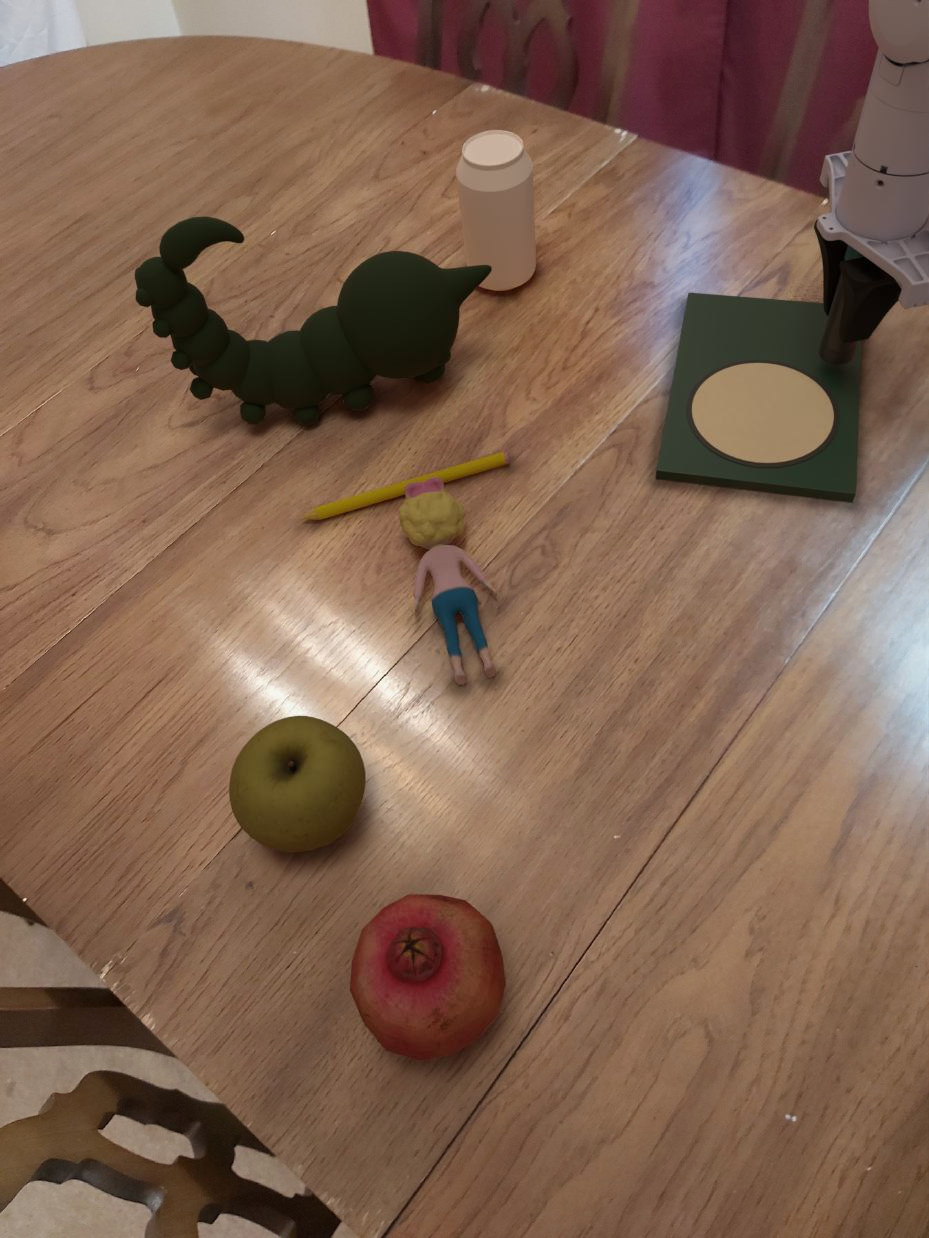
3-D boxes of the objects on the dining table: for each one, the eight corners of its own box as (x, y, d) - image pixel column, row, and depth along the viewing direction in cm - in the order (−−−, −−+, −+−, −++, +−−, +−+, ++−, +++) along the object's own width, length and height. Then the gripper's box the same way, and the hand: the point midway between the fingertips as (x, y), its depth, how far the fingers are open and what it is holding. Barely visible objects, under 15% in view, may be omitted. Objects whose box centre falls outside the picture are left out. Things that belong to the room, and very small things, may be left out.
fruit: (350, 1056, 50) (307, 1025, 42) (382, 906, 54) (348, 851, 46) (498, 1082, 49) (483, 1056, 40) (519, 927, 53) (510, 874, 45)
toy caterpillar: (227, 476, 76) (521, 388, 75) (110, 289, 60) (481, 174, 59) (219, 397, 81) (494, 314, 80) (109, 205, 65) (451, 98, 64)
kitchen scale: (687, 301, 79) (688, 291, 78) (859, 316, 77) (863, 304, 76) (655, 479, 69) (656, 469, 68) (852, 503, 67) (856, 492, 66)
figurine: (520, 676, 63) (466, 502, 70) (518, 646, 59) (461, 465, 66) (434, 698, 62) (389, 521, 70) (426, 669, 58) (380, 485, 66)
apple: (399, 821, 57) (379, 776, 51) (284, 895, 55) (250, 857, 49) (340, 730, 61) (315, 677, 55) (231, 796, 59) (193, 750, 53)
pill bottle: (846, 338, 72) (882, 224, 64) (860, 361, 71) (898, 248, 63) (812, 345, 72) (843, 232, 64) (825, 368, 71) (859, 255, 63)
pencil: (505, 457, 72) (504, 448, 71) (509, 466, 71) (508, 457, 70) (299, 518, 71) (295, 510, 70) (301, 528, 70) (298, 519, 69)
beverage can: (547, 285, 82) (544, 156, 72) (482, 306, 82) (469, 179, 72) (521, 245, 86) (514, 117, 76) (458, 265, 85) (443, 138, 75)
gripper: (796, 100, 62) (760, 273, 73) (885, 231, 54) (830, 402, 65) (899, 81, 62) (848, 256, 73) (1004, 208, 54) (928, 383, 65)
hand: (846, 324), depth 69 cm, fingers closed on pill bottle, 2 cm apart
